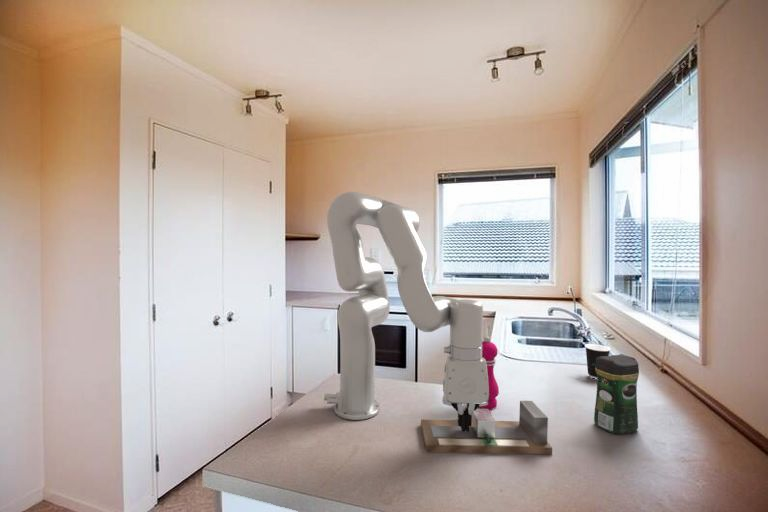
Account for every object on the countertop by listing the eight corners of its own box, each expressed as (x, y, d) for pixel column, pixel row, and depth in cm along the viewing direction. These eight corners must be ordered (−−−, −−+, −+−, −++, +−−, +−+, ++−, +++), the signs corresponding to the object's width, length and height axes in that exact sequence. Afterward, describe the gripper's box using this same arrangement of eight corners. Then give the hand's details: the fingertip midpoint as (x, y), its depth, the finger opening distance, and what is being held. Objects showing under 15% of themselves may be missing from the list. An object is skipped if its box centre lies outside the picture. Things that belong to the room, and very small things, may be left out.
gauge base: (426, 451, 81) (426, 418, 81) (420, 425, 93) (421, 396, 93) (552, 454, 81) (553, 421, 81) (530, 427, 93) (531, 398, 93)
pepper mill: (499, 411, 102) (501, 340, 101) (473, 408, 103) (474, 338, 102) (497, 400, 109) (498, 334, 108) (472, 398, 110) (473, 332, 110)
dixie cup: (597, 373, 134) (598, 343, 134) (615, 381, 126) (616, 349, 126) (578, 374, 132) (579, 344, 132) (595, 382, 125) (596, 350, 124)
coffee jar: (614, 417, 99) (617, 350, 98) (643, 432, 91) (646, 358, 91) (587, 422, 96) (589, 352, 95) (614, 437, 88) (617, 362, 88)
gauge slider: (480, 443, 81) (481, 426, 81) (471, 424, 90) (471, 408, 90) (498, 444, 81) (499, 426, 81) (487, 424, 90) (488, 408, 90)
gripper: (436, 356, 83) (435, 436, 83) (502, 357, 82) (500, 437, 83) (432, 347, 90) (431, 420, 91) (492, 348, 90) (491, 421, 90)
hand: (464, 428), depth 87 cm, fingers closed
